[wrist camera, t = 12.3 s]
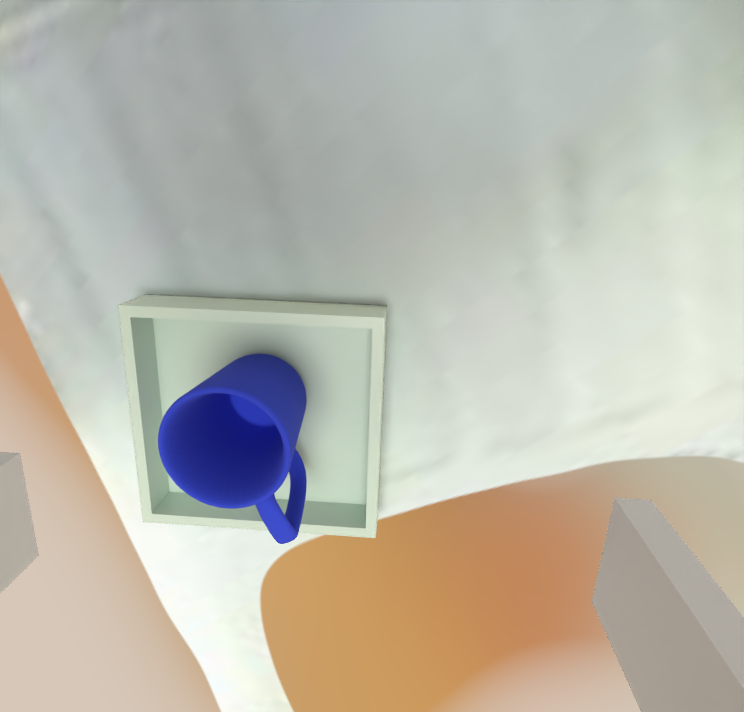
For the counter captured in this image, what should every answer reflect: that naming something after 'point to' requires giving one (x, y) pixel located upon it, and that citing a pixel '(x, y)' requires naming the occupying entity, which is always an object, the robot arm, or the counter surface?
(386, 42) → the counter surface
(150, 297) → the tray
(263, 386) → the mug
